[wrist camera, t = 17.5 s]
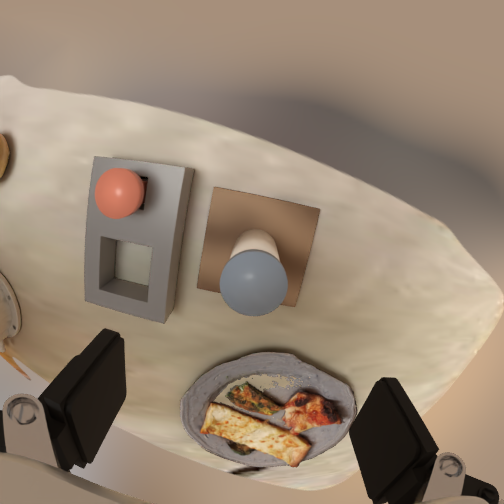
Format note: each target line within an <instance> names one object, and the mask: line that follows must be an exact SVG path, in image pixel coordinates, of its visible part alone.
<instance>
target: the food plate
mask: <svg viewBox="0 0 504 504" xmlns="http://www.w3.org/2000/svg"><path fill="white" fill-rule="evenodd" d="M296 358H297V357H296V356H295V355H293V354H289V353H288V354H287V353H277V352H271V353H270V352H261V353H252V354H251V355H248V356H247V355H246V356H244V357H243V356H242V357H241V358H240V359H238V360H234V361H231V362H227V363H222V364H221V365H218V366H216V367H215V368H214V369H212V370H210V371H208V372H207V373H204V374H203V375H202V376H201V377H200V378H199V379H198V380H197V381H196V382H195V383H194V384H193V386H192V387H190V388H189V390H188V391H187V392H186V394H185V395H184V396H183V398H182V399H181V401H180V410H181V412H180V417H181V422H182V425H183V427H184V429H185V431H186V432H187V434H188V435H189V436H190V437H191V438H192V439H194V440H195V441H196V442H197V443H198V444H199V445H200V446H201V448H202V447H203V448H205V450H206V449H207V450H206V451H208V450H209V451H208V452H210V451H211V452H210V453H212V454H214V453H215V455H217V454H218V455H217V456H219V457H222V458H224V459H228V460H231V461H234V462H236V461H237V463H241V464H244V465H245V464H247V465H248V466H256V467H274V466H283V465H285V466H286V465H288V466H289V465H290V466H291V467H298V466H299V463H300V462H302V461H304V460H309V459H312V458H314V457H316V456H318V455H319V454H322V453H324V452H325V451H327V450H328V449H330V448H332V447H334V446H335V445H336V444H337V443H338V442H340V441H341V440H342V439H343V438H344V437H345V435H346V434H347V433H348V431H349V429H350V427H351V425H352V423H353V421H354V419H355V417H356V415H357V404H356V401H355V398H354V396H353V395H354V392H353V390H352V389H351V388H350V387H349V385H348V386H347V385H346V383H345V384H344V383H343V382H342V381H340V380H337V379H336V378H334V377H332V376H331V375H329V374H327V373H326V372H324V371H321V370H319V369H317V368H315V367H313V366H312V365H310V364H307V363H305V362H304V363H302V361H301V360H300V359H299V360H298V358H297V359H296ZM262 374H267V376H272V377H278V375H276V374H280V375H281V376H285V377H288V378H285V379H287V381H291V380H290V378H291V377H290V376H294V377H295V378H297V379H295V380H294V379H293V378H291V379H292V381H294V384H293V385H294V386H293V387H290V386H289V385H287V386H286V388H285V389H284V387H280V386H278V383H277V382H274V381H272V382H274V384H273V386H276V387H275V388H269V390H268V389H263V390H264V392H263V393H262V391H259V390H258V389H256V388H255V387H253V386H252V385H251V384H249V383H248V382H247V381H246V383H245V384H242V385H240V386H238V385H235V386H234V387H233V388H231V389H230V390H231V391H230V392H228V395H225V397H227V398H228V399H229V400H230V401H231V402H232V403H233V404H234V405H236V406H239V407H242V408H244V409H245V410H243V409H238V408H235V407H234V406H229V405H226V404H223V403H222V402H220V403H217V402H213V400H215V399H216V397H217V396H218V395H219V394H220V393H221V392H222V391H223V390H224V389H225V388H226V387H227V385H228V384H230V383H232V382H234V381H236V380H237V379H238V380H240V379H241V378H243V377H245V378H247V377H249V376H250V375H260V376H261V375H262ZM281 376H280V379H281ZM309 377H310V378H309ZM298 378H300V379H298ZM252 379H253V378H252ZM299 380H300V381H303V382H298V381H299ZM291 383H292V382H290V384H291ZM296 383H297V384H296ZM270 384H271V383H270ZM275 384H277V385H275ZM299 385H301V387H300V386H299ZM308 385H309V386H308ZM310 385H311V386H310ZM261 386H262V385H261ZM295 386H298V387H295ZM287 388H289V389H287ZM266 390H267V391H266ZM271 397H272V398H271ZM276 398H277V399H276ZM355 405H356V406H355ZM246 410H248V411H246ZM249 411H250V412H251V413H249ZM202 415H203V416H202Z"/></svg>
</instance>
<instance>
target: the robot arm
mask: <svg viewBox="0 0 504 504" xmlns="http://www.w3.org/2000/svg"><path fill="white" fill-rule="evenodd" d="M20 327H21V315H20V309H19V305H18V302H17V299H16V297H15V294H14V292H13V290H12V288H11V286H10V285H9V283H8V282H7V280H6V279H5V277H4V276H3V275H2V274H1V273H0V352H5V351H6V349H5V345H4V342H3V340H4V338H6V337H9V338H11V337H14V336H15V335H16V334H17V333H18V332H19V330H20ZM125 398H126V376H125V353H124V339H123V338H121V337H120V334H119V333H118V332H115V331H112V330H109V329H106V328H105V329H103V330H102V331H101V332H100V333H99V334H98V335H97V336H96V337H95V338H94V339H93V340H92V342H91V343H90V344H89V345H88V346H87V347H86V348H85V349H84V350H83V351H82V353H81V354H80V355H77V356H75V357H74V358H73V359H72V360H71V361H70V362H69V363H68V364H67V365H66V366H65V368H64V369H63V370H62V371H61V372H60V373H59V374H58V376H57V377H56V378H55V379H54V380H53V381H52V382H51V384H50V385H49V386H48V387H47V388H46V389H45V391H44V392H43V393H42V394H41V395H40V396H39V398H38V399H36V398H35V397H34V396H31V395H28V394H17V395H13V396H11V397H10V398H8V399H7V400H6V402H5V403H4V405H3V410H0V504H154V503H151V502H147V501H144V500H141V499H137V498H134V497H131V496H128V495H125V494H122V493H119V492H116V491H113V490H111V489H108V488H105V487H102V486H100V485H98V484H95V483H93V482H90V481H88V480H85V479H83V478H81V477H78V476H76V475H73V474H71V472H70V469H72V467H73V465H74V464H75V465H77V466H79V467H81V468H85V466H86V464H87V463H92V462H93V460H94V458H95V456H96V454H97V452H98V450H99V448H100V446H101V444H102V442H103V440H104V438H105V436H106V434H107V432H108V431H109V429H110V427H111V425H112V423H113V421H114V419H115V417H116V415H117V414H118V412H119V410H120V408H121V406H122V404H123V402H124V400H125ZM349 435H350V439H351V442H352V445H353V448H354V451H355V454H356V458H357V461H358V464H359V467H360V470H361V474H362V477H363V481H364V484H365V487H366V491H367V494H368V497H369V498H370V499H372V501H373V504H384V503H386V502H388V504H504V500H502V499H501V500H500V501H499V495H498V491H497V489H496V488H495V487H494V486H493V485H491V484H489V483H486V482H483V481H481V480H478V479H476V478H473V477H471V476H469V475H466V474H465V472H466V467H465V464H464V462H463V460H462V459H461V458H460V457H459V456H457V455H456V454H454V453H450V452H447V453H442V454H440V455H439V456H438V457H437V455H436V453H437V452H438V450H439V448H438V447H437V445H436V443H435V441H434V440H433V438H432V436H431V434H430V433H429V431H428V429H427V427H426V426H425V424H424V422H423V421H422V419H421V417H420V415H419V414H418V412H417V410H416V409H415V407H414V405H413V404H412V402H411V401H410V399H409V397H408V396H407V394H406V392H405V391H404V389H403V388H402V386H401V384H400V383H399V381H398V380H397V379H396V378H389V377H383V378H381V379H380V380H379V381H377V382H376V383H375V385H374V387H373V388H372V390H371V392H370V394H369V396H368V398H367V399H366V401H365V403H364V405H363V406H362V408H361V410H360V412H359V413H358V415H357V417H356V418H355V420H354V422H353V423H352V425H351V427H350V429H349Z"/></svg>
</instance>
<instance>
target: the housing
mask: <svg viewBox="0 0 504 504" xmlns="http://www.w3.org/2000/svg"><path fill="white" fill-rule="evenodd" d="M113 168H126V169H130V170H132V171H134V172H135V173H137V174H138V176H144V177H149V178H148V184H147V190H146V197H145V204H141V206H140V207H139V209H138V210H137V211H136V212H135V213H133V214H132V215H130V216H127V217H124V218H120V219H112V218H109V217H107V216H105V215H104V214H103V213H102V212H101V211H100V210H99V208H98V206H97V204H96V201H95V187H96V184H97V182H98V180H99V178H100V177H101V175H102V174H103V173H105V172H106V171H108V170H110V169H113ZM193 174H194V169H192V168H186V167H179V166H172V165H166V164H158V163H151V162H143V161H135V160H126V159H117V158H108V157H97V156H94V161H93V168H92V174H91V182H90V190H89V198H88V208H87V220H86V235H85V265H84V283H85V301H87V302H90V303H93V304H96V305H99V306H102V307H106V308H109V309H112V310H116V311H119V312H122V313H126V314H129V315H133V316H137V317H140V318H144V319H148V320H151V321H155V322H159V323H163V324H164V323H165V322H166V320H167V318H168V317H169V315H170V314H171V312H172V310H173V309H174V302H175V293H176V285H177V276H178V268H179V261H180V253H181V246H182V239H183V233H184V226H185V220H186V214H187V208H188V202H189V196H190V190H191V185H192V179H193ZM117 240H121V241H125V242H130V243H134V244H139V245H144V246H148V247H152V257H151V267H150V278H149V286H145V285H141V284H137V283H133V282H129V281H125V280H121V279H118V278H114V275H115V255H116V241H117Z"/></svg>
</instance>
